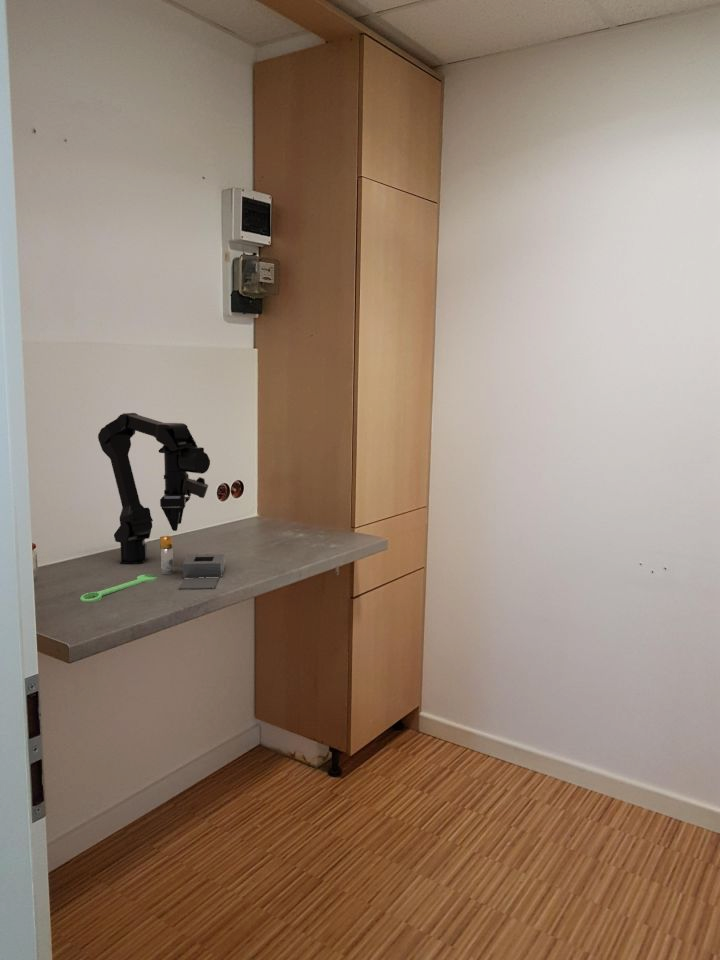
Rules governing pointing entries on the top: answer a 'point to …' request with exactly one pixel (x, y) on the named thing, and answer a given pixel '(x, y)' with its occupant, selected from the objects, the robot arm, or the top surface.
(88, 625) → the top surface
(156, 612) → the top surface
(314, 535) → the top surface
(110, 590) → the wrench
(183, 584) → the rubber mat
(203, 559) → the block
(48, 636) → the top surface
